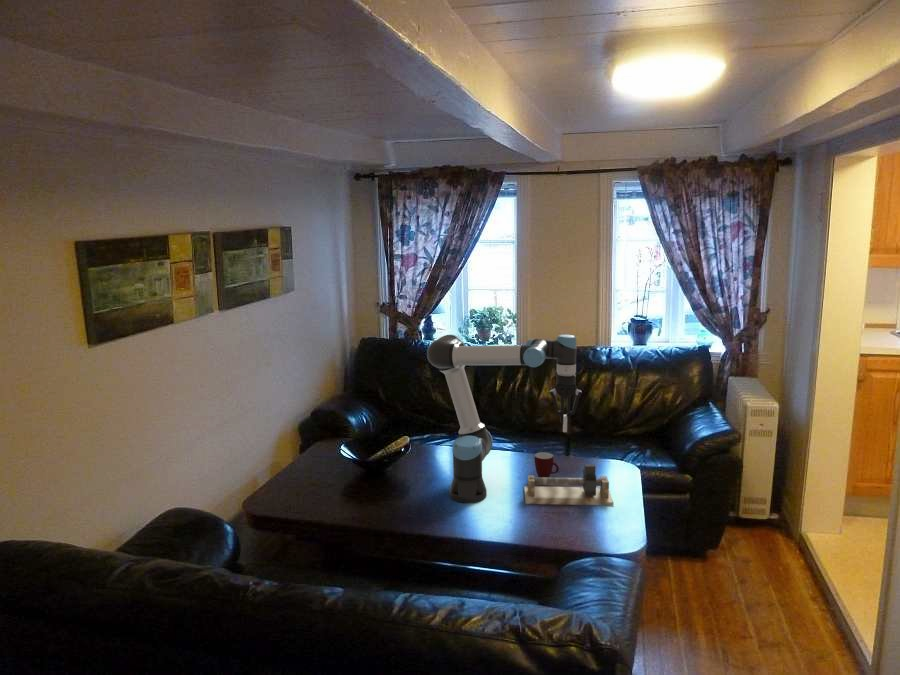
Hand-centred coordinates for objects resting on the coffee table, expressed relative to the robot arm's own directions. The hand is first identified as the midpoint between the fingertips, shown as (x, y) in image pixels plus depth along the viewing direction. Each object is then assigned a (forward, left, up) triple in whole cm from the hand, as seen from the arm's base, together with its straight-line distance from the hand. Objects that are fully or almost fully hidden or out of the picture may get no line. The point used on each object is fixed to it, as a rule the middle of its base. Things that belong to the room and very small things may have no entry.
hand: (564, 431), depth 255 cm
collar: (+10, -5, -24) cm, 26 cm away
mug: (-6, +14, -26) cm, 31 cm away
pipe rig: (+1, -5, -26) cm, 27 cm away
